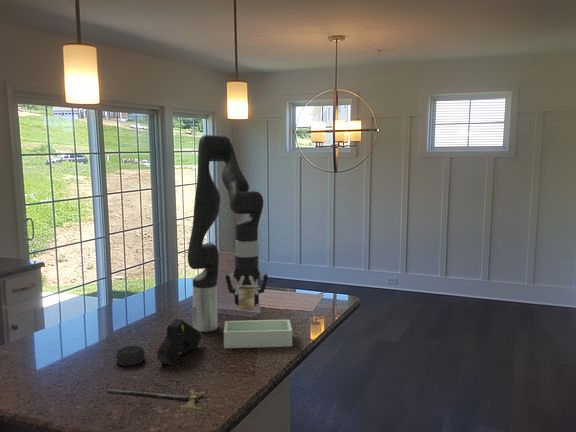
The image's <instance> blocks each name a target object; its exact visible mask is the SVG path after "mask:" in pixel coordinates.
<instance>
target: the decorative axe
mask: <svg viewBox="0 0 576 432" xmlns="http://www.w3.org/2000/svg"><path fill="white" fill-rule="evenodd" d="M106 391H107V393H110V394H111V393H112V394H118V395H119V394H120V395H121V394H122V395H128V396H129V395H130V396H141V397H150V398H157V399H158V398H159V399H168V400H169V399H171V400H181V401H187V402H186V403H185V404H183V405H180V407H182V408H187V409H198V410H201V409H202V408H203V407H202V406H201V407H200V406H199V407H197V406H196V405H195V403H196V402H198V401H199V397H201V395H206V394H205V392H204V391H201V392H196V390H195V389H190V393H188V395H190V396H185V395H175V394H163V393H153V392H145V391H144V392H142V391H131V390H120V389H110V388H108V389H107V390H106Z"/></svg>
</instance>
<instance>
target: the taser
mask: <svg viewBox="0 0 576 432" xmlns="http://www.w3.org/2000/svg"><path fill="white" fill-rule="evenodd" d="M202 337H203V335H202V332H199V331H198V330H196V329H195V328H193V325H190V324H189V323H187V322H186V321H184V320H183V319H180V318H178V319H174V320H172V322H170V323H169V324H168V326H167V328H166V336H165V338H164V339H163V341H162V343H161V344H160V345H159V347H158V350H157V353H156V358H157V359H158V361H159V362H160V363H161V364H163V365H167V366H172V365H174V363H175V362H176V360H177V358H178V356H179V353H182V354H187V353H188V352H189V351H190V352H194V350H195V349H196V348H198V347H199V345H200V341H201V339H202Z"/></svg>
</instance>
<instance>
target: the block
mask: <svg viewBox="0 0 576 432" xmlns="http://www.w3.org/2000/svg"><path fill="white" fill-rule="evenodd" d="M254 293H255V292H254V288H253V287H252V285H242V286H241V288H239V306H238V311H255V306H254Z"/></svg>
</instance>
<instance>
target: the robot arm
mask: <svg viewBox="0 0 576 432" xmlns="http://www.w3.org/2000/svg"><path fill="white" fill-rule="evenodd" d="M197 148H198V149H197V179H196V188H195V195H194V205H193V217H192V218H193V219H192V227H191V228H192V229H191V233H190V239H189V243H188V244H189V245H188V248H187V249H188V250H187V263H188V265H189V268H190V269H192V270H200V269H203V270H202V271H201V272H200V273H199V274H198V275H195V276H194V277H193V278H192V309H191V310H192V327H193V328H195V329H196V330H198V331H199V332H201V333H207V332H208V333H209V332H213V331H216V330H217V329H218V278H219V263H220V261H219V260H220V259H219V258H220V257H219V249H218V247H217V246H216V244H215V243H212V242H211V243H204V239H205V237H206V235H207V233H208V232H209V229H210V228H211V227H212V226H213V225H214V222H215V221H216V219H217V218H218V216H219V213H220V206H221V195H220V192H219V190H218V188H217V186H216V184H215V181H214V180H213V178H212V175H211V173H210V172H211V171H210V162H219V163H220V162H224V163H225V166H224V168H223V170H222V174H221V179H222V183H223V185H224V186H225V188H226V190H227V193H228V198H229V206H230V210H231V211H232V213H234V214H236V215H248V216H247V218H245V219H243V220H241V221H238V222H237V223H236V224H235V244H234V271H233V272H232V273H226V274H225V281H226V286H227V289H228V292H229V294H233V295H234V305H236V307H239V288H241V286H242V285H252V287H253V288H254V307H256V306H257V305H258V304H259V296H260V294H263V293H265V290H266V287H267V281H268V278H269V277H268V273H262V272H260V271H259V250H260V249H259V239H258V238H259V237H258V236H259V235H258V234H259V224H260V219H261V215H262V212H263V209H264V198H263V195H262V194H261V193H260V192H259V191H253V190H252V191H250V185H249V183H248V181H247V179H246V178H245V176H244V173H243V172H242V170H241V169H240V165H239V163H238V160H237V156H236V153H235V150H234V146H233V144H232V142H231V140H230V138H228V137H227V136H226V135H215V134H203V135H202V136H201V137H200V138H199V141H198V147H197ZM259 277H260V280H261V285H260V288H259V287H258V285H257V283H256V282H257V280H258V279H259ZM233 278H235V280H236V281H237V283H236V288H234V287H233V283H232V281H233Z"/></svg>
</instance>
